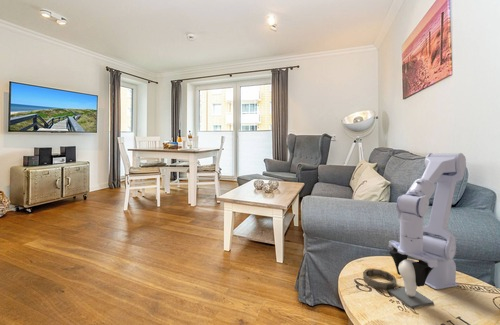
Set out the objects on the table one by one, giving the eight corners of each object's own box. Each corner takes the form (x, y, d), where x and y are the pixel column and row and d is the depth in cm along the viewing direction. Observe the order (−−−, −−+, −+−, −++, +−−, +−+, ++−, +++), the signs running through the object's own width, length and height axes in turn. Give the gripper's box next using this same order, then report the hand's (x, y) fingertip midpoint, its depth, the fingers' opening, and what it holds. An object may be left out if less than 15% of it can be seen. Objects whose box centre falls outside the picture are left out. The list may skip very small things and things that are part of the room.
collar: (380, 272, 85) (380, 267, 85) (402, 287, 76) (403, 281, 76) (357, 276, 83) (357, 270, 83) (377, 291, 74) (377, 285, 74)
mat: (409, 288, 75) (409, 286, 75) (433, 303, 68) (433, 301, 68) (388, 291, 74) (388, 289, 74) (410, 308, 66) (410, 306, 66)
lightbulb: (427, 303, 67) (427, 265, 67) (404, 301, 68) (404, 264, 67) (415, 290, 73) (415, 256, 73) (394, 289, 74) (394, 255, 74)
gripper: (381, 228, 76) (380, 269, 77) (423, 246, 62) (421, 295, 62) (399, 226, 77) (398, 266, 78) (444, 243, 63) (442, 292, 64)
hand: (410, 279), depth 70 cm, fingers closed on lightbulb, 6 cm apart
